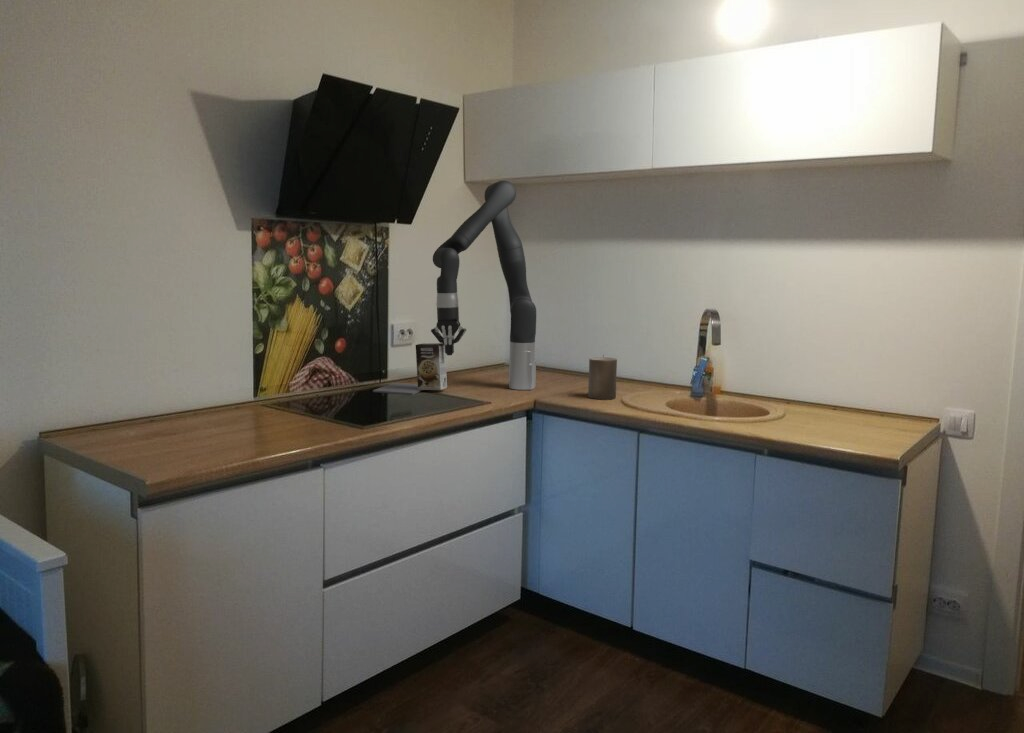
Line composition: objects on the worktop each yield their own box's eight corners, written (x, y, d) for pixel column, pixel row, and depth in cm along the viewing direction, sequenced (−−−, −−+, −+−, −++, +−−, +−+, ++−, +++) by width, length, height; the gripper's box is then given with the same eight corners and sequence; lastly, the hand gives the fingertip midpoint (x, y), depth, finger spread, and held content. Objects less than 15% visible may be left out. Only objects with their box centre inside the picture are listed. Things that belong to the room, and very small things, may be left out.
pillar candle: (618, 399, 259) (620, 356, 258) (590, 399, 259) (591, 356, 257) (612, 395, 269) (614, 353, 267) (585, 395, 268) (587, 353, 267)
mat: (431, 386, 279) (431, 385, 279) (412, 394, 262) (412, 393, 262) (393, 384, 283) (393, 382, 283) (372, 392, 266) (372, 390, 266)
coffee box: (417, 390, 268) (414, 344, 266) (424, 387, 274) (421, 343, 272) (441, 390, 265) (438, 344, 263) (448, 387, 271) (445, 342, 269)
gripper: (469, 305, 265) (470, 353, 268) (433, 305, 269) (435, 353, 271) (462, 306, 258) (463, 356, 261) (425, 306, 262) (428, 356, 264)
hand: (449, 355), depth 266 cm, fingers closed
